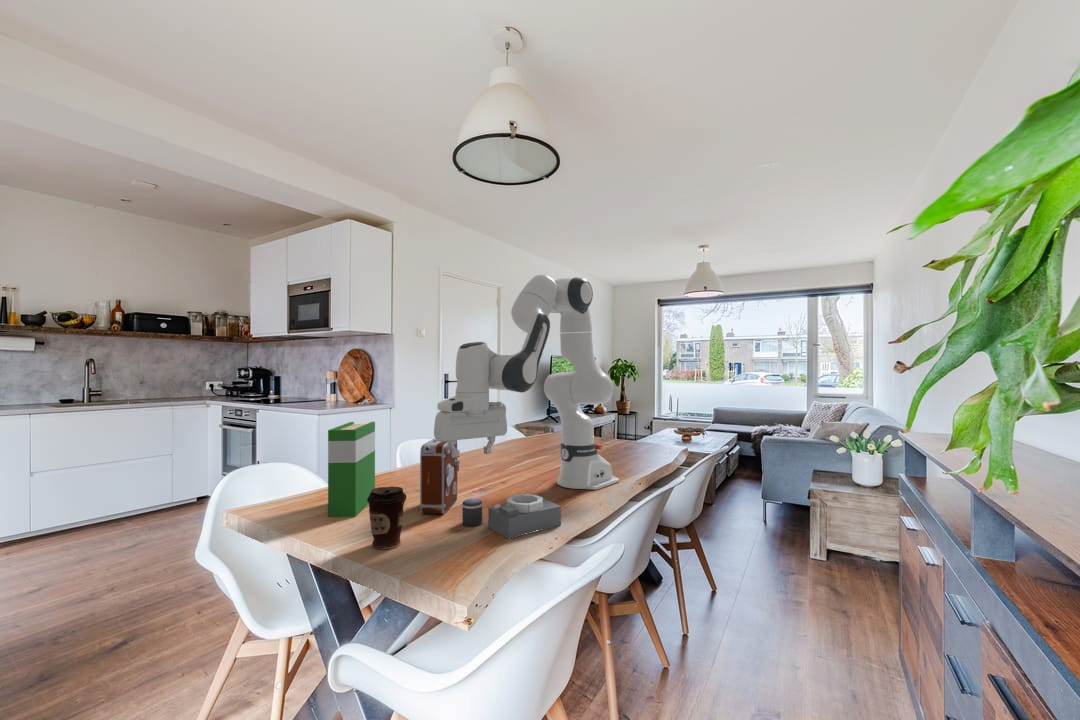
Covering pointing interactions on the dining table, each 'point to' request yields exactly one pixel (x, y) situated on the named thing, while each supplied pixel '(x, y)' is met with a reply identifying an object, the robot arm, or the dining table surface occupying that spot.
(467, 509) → the lens
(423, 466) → the cine camera
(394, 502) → the coffee cup
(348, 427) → the hardback book
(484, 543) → the dining table surface
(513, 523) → the camera body
